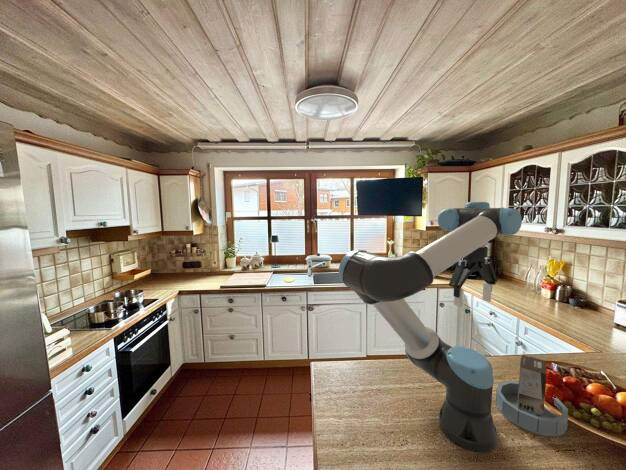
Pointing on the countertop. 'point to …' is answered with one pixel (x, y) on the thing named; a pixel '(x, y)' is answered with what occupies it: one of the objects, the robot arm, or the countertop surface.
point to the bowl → (538, 425)
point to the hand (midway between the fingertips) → (472, 303)
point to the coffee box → (532, 385)
